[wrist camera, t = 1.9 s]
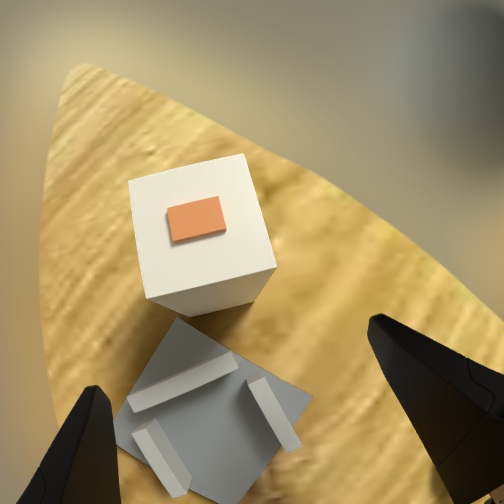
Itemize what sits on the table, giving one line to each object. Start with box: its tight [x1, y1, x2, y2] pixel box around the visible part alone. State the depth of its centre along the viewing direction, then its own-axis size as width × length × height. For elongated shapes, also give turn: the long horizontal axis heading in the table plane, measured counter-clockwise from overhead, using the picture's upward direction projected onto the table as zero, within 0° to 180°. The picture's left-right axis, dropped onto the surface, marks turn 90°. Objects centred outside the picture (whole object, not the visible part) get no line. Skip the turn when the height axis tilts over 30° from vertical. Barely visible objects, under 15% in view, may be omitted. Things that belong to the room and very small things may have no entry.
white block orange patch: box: [128, 153, 277, 317], centre depth 16 cm, size 4×4×11 cm
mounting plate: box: [113, 317, 313, 504], centre depth 17 cm, size 10×10×4 cm
